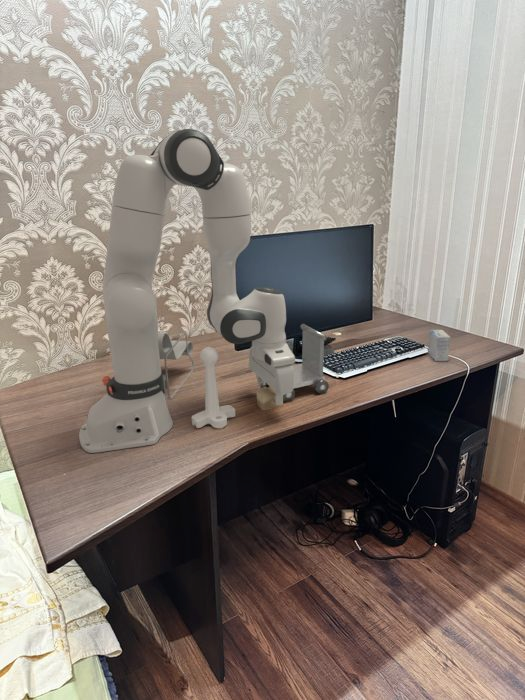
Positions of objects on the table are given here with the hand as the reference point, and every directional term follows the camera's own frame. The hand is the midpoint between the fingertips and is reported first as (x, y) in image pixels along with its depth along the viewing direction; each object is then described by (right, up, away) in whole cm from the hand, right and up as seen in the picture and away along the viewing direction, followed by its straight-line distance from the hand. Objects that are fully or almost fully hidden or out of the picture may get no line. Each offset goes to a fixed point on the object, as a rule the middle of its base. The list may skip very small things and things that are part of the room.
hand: (269, 396), depth 126 cm
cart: (+7, +1, +11) cm, 13 cm away
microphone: (+19, +13, +44) cm, 50 cm away
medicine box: (+58, +10, +32) cm, 67 cm away
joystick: (-14, -6, -8) cm, 17 cm away
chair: (-33, +2, +16) cm, 36 cm away
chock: (0, -3, +1) cm, 3 cm away
